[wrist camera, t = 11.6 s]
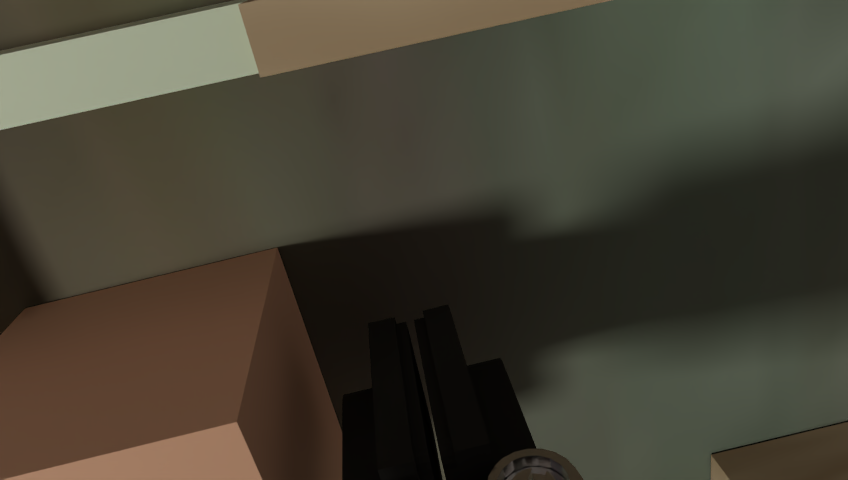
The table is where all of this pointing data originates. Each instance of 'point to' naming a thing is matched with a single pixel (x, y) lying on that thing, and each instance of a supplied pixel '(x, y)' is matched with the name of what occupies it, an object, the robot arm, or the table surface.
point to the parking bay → (454, 14)
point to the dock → (123, 63)
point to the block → (169, 382)
